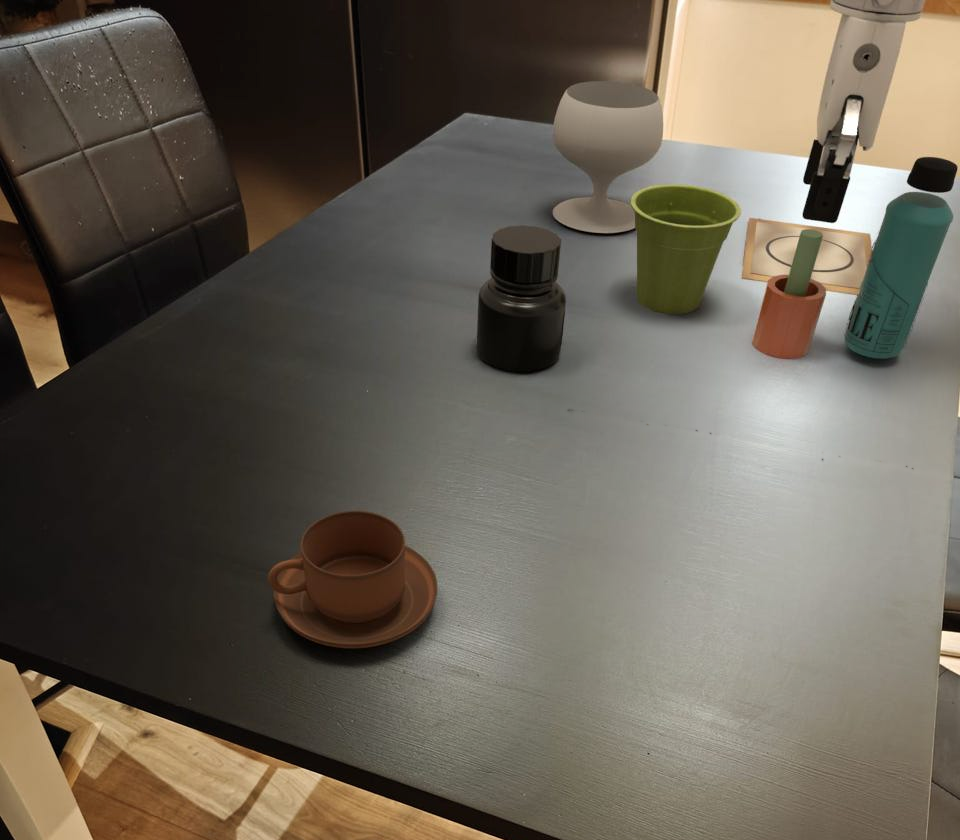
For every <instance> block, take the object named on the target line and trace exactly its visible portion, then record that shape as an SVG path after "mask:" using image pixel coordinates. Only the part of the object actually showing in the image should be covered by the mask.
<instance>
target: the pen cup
mask: <svg viewBox="0 0 960 840" xmlns="http://www.w3.org/2000/svg"><path fill="white" fill-rule="evenodd" d="M788 276H789V275H778V276H774V277H772V278H770V279H769V280H768V281H767V282H766V286H765V289H764V293H763V297H762V301H761V305H760V308H759V312H758V316H757V320H756V323H755V327H754V331H753V334H752V341H751V344H752V346H753V347H754V348H755V349H756V351H758V352H760V353H761V354H763V355H766V356H768V357H771V358H775V359H783V360H795V359H799V358H802V357H804V356H806V355H807V354H808V353H809V351H810V348H811V345H812V341H813V338H814V334H815V331H816V328H817V326H818V325H817V324H818V322H819V319H820V315H821V314H822V313H821V312H822V309H823V306H824V302H825V300H826V296H827V291H826V288H825V287H824V286H823V285H822V284H821V283H819V282H817V281H815V280H813V279H810V282H809V286H808V289H807V292H806V296H805V297H799V296H793V295H789V294H786V293H784V291H785V287H786V284H787V280H788Z"/></svg>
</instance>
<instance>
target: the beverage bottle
mask: <svg viewBox="0 0 960 840" xmlns="http://www.w3.org/2000/svg"><path fill="white" fill-rule="evenodd" d="M958 167H959V166H958V165H957V164H956V163H955V162H953V161H951V160H949V159H946V158H942V157H935V156H921V157H919V158H917V159H916V160H915V161H914V163H913V165H912V167H911V170H910V172H909V174H908V176H907V179H906V183H907V185H908V186H910V187H911V188H914V189H916V190H918V191H908V192H905V193H902V194H900V195H899V196H897V197H895V198H894V199H892V200H890V202H888V203H887V205H886V207H885V213H884V216H883V219H882V222H881V225H880V228H879V230H878V233H877V234H876V235H875V238H876V239H875V241H873V243H872V250H871V251H872V253H870V254H871V255H869V258H870V260H869V261H868V262H869V263H868V262H867V263H868V266H867V269H866V272H865V275H864V278H863V281H862V283H860V284H861V286H860V290H859V294H858V295H856V297H855V300H854V301H853V305H852V308H851V310H850V312H849V315H848V322H847V323H846V327H845V329H844V330H845V332H844V333H843V335H844V344H845V345H846V347H847V348H848V349H849V350H851V351H853V352H854V353H857V354H859V355H861V356H864V357H867V358H871V359H892V358H896V357H897V356H899V355H900V354H901V352H902V351H903V349H905V348H907V344H908V339H910V336H911V334H912V332H913V331H912V330H913V328H914V325H915V323H916V317H917V314H919V312H920V310H919V309H920V306H922V303H923V301H924V298H925V297H924V296H925V293H926V290H927V288H928V285H929V280H930V277H931V275H932V273H933V269H934V267H935V264H936V262H937V259H938V257H939V254H940V252H941V249H942V246H943V244H944V241H945V238H946V236H947V234H948V231H949V228H950V226H951V224H952V222H953V220H954V213H953V211H952V209H951V207H950V205H949V204H948V203H947V201H946V200H945V198H943V197H941V196H939V195H936V194H941V193H942V194H944V193H948V192H951V191H952V190H953V187H954V185H955V179H956V175H957V174H958ZM933 193H934V194H933ZM935 193H936V194H935ZM866 265H867V264H866Z"/></svg>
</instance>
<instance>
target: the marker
mask: <svg viewBox="0 0 960 840" xmlns="http://www.w3.org/2000/svg"><path fill="white" fill-rule="evenodd" d="M822 238H823V234H822V233H821V232H820V231H817V230H813V229H805V230H802V231H801V233H800V237H799V240H798V244H797V248H796V251H795V255H794V258H793V262H792V266H791V269H790V273H789V276H788V280H787V284H786V287H785V291H784V293H786V294H789V295H793V296H799V297H805V296H806V292H807V289H808V286H809V282H810V279H811V275H812V272H813V269H814V265H815V262H816V258H817V255H818V252H819V248H820V245H821V242H822Z"/></svg>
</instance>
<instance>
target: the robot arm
mask: <svg viewBox="0 0 960 840" xmlns="http://www.w3.org/2000/svg"><path fill="white" fill-rule="evenodd" d="M925 2H926V0H830V3H829V8H830V9H831V11H832V10H833V11H834V12H835V13H838V14H840V15H841V16H840V20H839V23H838V27H837V31H836V35H835V39H834V42H833V46H832V50H831V53H830V56H829V60H828V64H827V69H826V72H825V77H824V80H823V86H822V91H821V95H820V100H819V105H818V110H817V118H816V139H813V140H812V141H813V142H812V145H811V149H810V152H809V156H808V159H807V163H806V166H805V170H804V174H803V178H802V182H803V184H804V185H809V189H808V193H807V195H806V200H805V203H804V207H803V210H802V219H804V220H809V221H816V222H822V223H827V224H828V223H829V224H835V223H837V221H838V219H839V216H840V213H841V210H842V208H843V203H844V200H845V197H846V194H847V190H848V188H849V184H850V181H851V173H852V170H853V169H852V168H853V163H854V160H855V156H856V151H857V147H858V144H859V147H862V151H863V152H868V151H869V150H871V148H873V147H874V144H875V140H876V136H877V132H878V129H879V125H880V122H881V118H882V114H883V111H884V108H885V104H886V101H887V98H888V94H889V91H890V88H891V84H892V81H893V76H894V74H895V69H896V67H897V62H898V59H899V55H900V51H901V48H902V43H903V39H904V35H905V30H906V25H907V23H911V22H916V21H918V20H919V19H920V18H921V16H922V13H923V8H924V6H925Z"/></svg>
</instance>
